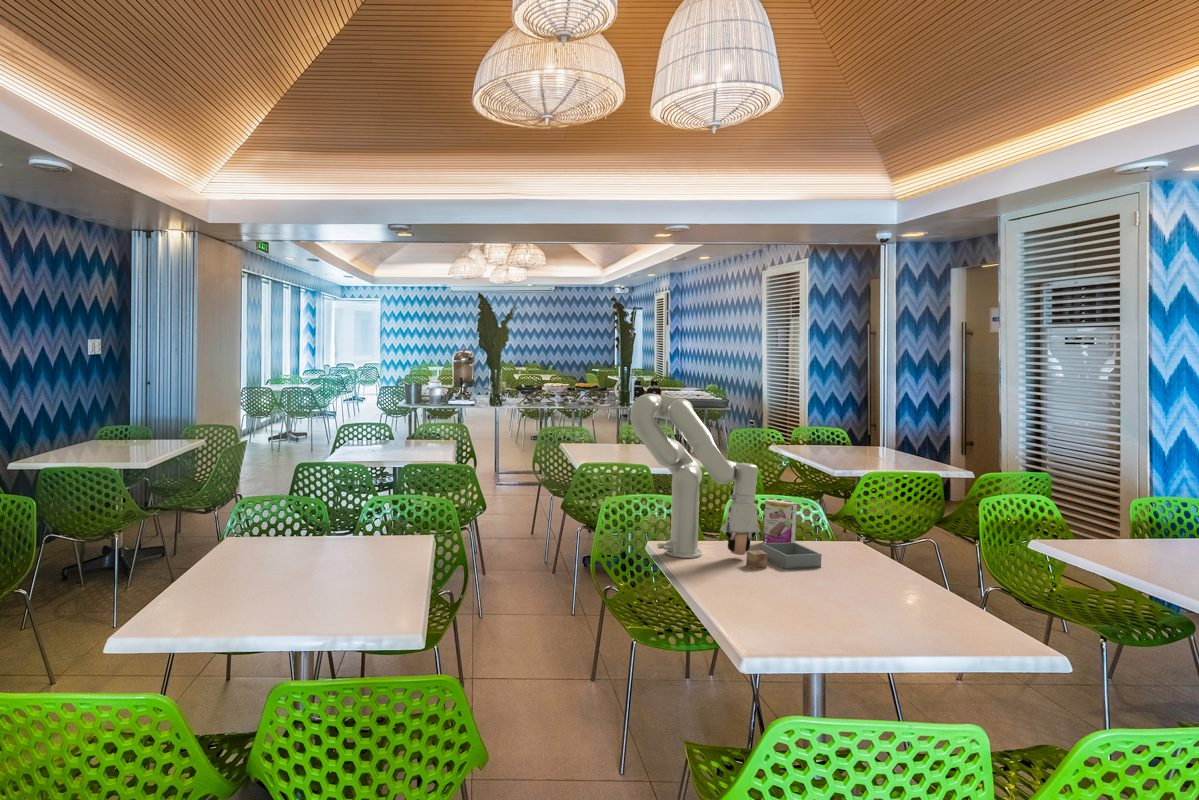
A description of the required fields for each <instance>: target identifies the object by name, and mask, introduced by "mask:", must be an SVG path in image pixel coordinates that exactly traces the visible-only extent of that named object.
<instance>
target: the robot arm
mask: <svg viewBox="0 0 1199 800" xmlns="http://www.w3.org/2000/svg"><path fill="white" fill-rule="evenodd" d="M629 416H630V417H629V419H630V423H631V427H632V430H633V431H634V432H635V434H636V435H637V437H638V438H639V440H641V442H642V444H643V445H644V446H645V448H646V449H647V450H648V451H649V453H650V454H651V456H653V458H654V459H655V461H656V462H657V463H658V464H659V466H661V467H664V468H667V469H668V470H669V472H670V473H671V474H672V477H671V520H670V521H671V523H670V539H668V540H667V541H666V542H665V543H663V542H661V543H660V542H658V543H657V544H656V545H657V549H660V550H662V549H663V551H664V550H665V553H666V555H668V556H671V557H674V558H679V559H680V558H682V559H691V558H692V559H693V558H699V557H701V556H702V553H703V551H702V550H700V549H699V548H698V545H699V544H698V542H699V540H698V539H699V518H700V517H699V516H700V515H699V514H700V513H699V512H700V510H699V509H700V483H701V481H702V479H703V473H702V469H701V468H700V466H699V464H698V463H697V462H696V461H695V459H694V458H693V457H692V456H691V455H690V452H688V450H687V449H686V448H685V447H684V446H683V445H682V444H681V442H679V441H677V440H676V439H674V438H670V436H668V434H667V433H666V432H665V430H664V429H663V427H662V426H660V424H659V423H658V422H657V421H656V419H655V418H657V419H658V418H659V419H663V420H668V421H671V423H672V424H673V425H674V427H675V428H676V429H677V431H678V432H679V433H680V434H681V436H682V437H683V438H684V440H685V441H686V443H687V444H688V446H689V447H690V449H691V450H692V451H693V453H694V454H695V457H697V459H698V461H699V463H701V465H702V466H703V468H704V470H706V472H707V473H708V474H709V476H710V477H711V478H712V480H713V481H714V482H716V483H718V484H720V485H726V484H729V483H730V482H732V481H733V482H734V483H733V492H732V494H730V495H729V496H728V497H729V499H730V500H731V501H730V503H729V506H728V510H727V514H726V519H725V523H724V524H722V526H721V527H720V531H721V532H723V534H724V535H725V536H726V537H727V549H728V550H729V552H731V551H734V545H735V540H734V537H735V534H736V532H741V533H747V543H746V553H747V551H750V548H751V541H752V540H753V538H754V537H755V536H756V535H758V534H759V533H761V529H760V527H759V526H758V506H757V503H755V501H756V500H755V499H756V490H757V480H758V466H757V465H756V464H753V463H748V462H738V461H733V460H729V459H726V458H725V456H724V455H723V454H722V453H721V451H720V450H719V449H718V447H717V445H716V444H715V442H714V439H713V436H712V433H711V432H710V430H709V428H707V426H706V425H705V424H704V423H703V421H702V420H701V418H700V417H699V416H698V415H697V413H696V411H694V406H693V405H692V402H690V401H689V400H687V399H685V398H679V397H672V396H667V395H662V394H659V393H658V394H657V393H645V394H642V395H640V396H638V397H637V398H636V399H635V401H634V402H633V404H632V407H631V409H630V414H629Z"/></svg>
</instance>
